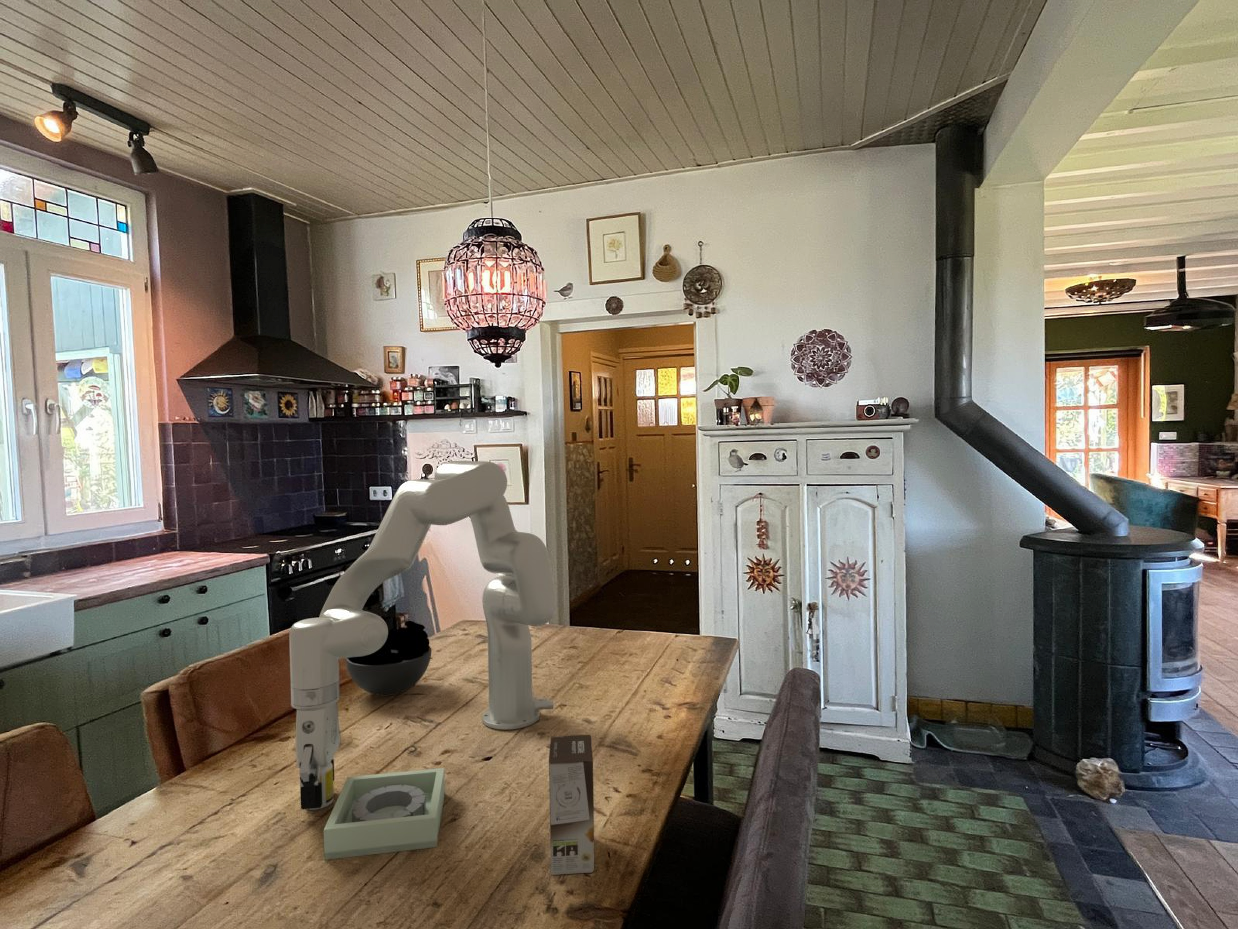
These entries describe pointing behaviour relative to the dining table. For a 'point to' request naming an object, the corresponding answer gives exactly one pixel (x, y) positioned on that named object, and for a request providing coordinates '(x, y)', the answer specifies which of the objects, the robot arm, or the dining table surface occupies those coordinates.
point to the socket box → (386, 814)
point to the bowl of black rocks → (393, 661)
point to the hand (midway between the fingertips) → (318, 794)
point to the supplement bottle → (325, 784)
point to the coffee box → (571, 804)
